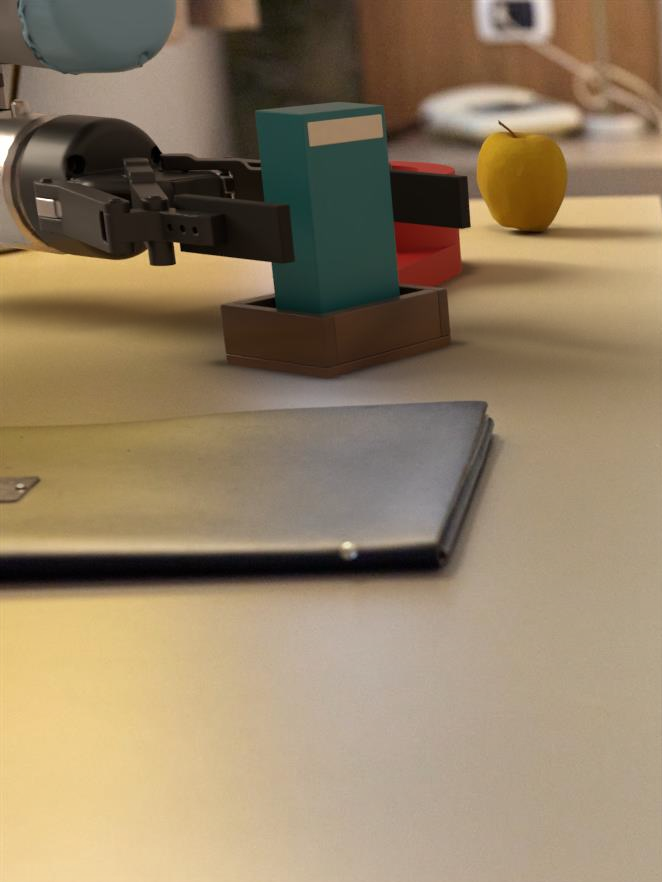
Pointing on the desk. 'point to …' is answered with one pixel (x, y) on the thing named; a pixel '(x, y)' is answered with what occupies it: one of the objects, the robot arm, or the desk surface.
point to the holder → (335, 333)
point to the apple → (522, 179)
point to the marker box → (331, 204)
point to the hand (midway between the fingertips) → (381, 217)
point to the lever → (426, 242)
